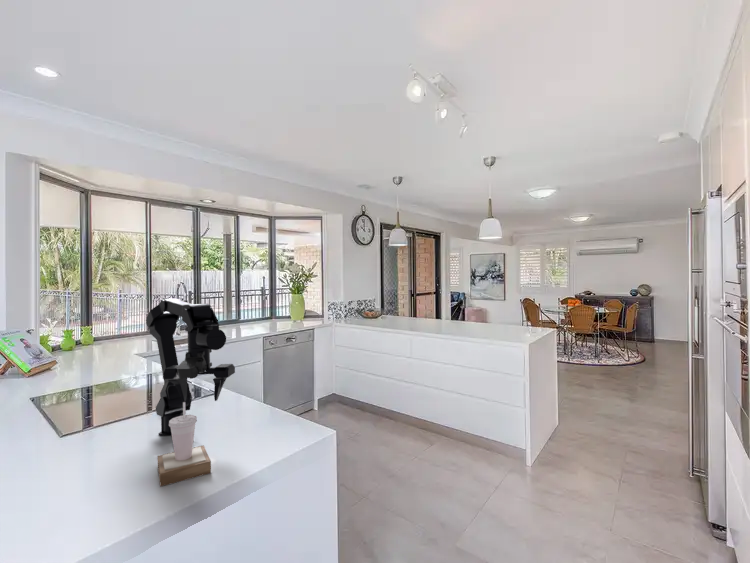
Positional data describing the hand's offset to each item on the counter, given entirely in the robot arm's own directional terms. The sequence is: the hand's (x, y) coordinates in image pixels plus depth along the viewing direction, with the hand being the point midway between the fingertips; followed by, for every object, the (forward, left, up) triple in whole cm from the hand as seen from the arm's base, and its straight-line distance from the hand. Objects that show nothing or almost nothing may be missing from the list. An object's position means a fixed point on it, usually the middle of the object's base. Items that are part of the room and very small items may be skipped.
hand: (200, 401), depth 111 cm
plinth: (+2, -14, -13) cm, 19 cm away
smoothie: (+2, -14, -10) cm, 17 cm away
